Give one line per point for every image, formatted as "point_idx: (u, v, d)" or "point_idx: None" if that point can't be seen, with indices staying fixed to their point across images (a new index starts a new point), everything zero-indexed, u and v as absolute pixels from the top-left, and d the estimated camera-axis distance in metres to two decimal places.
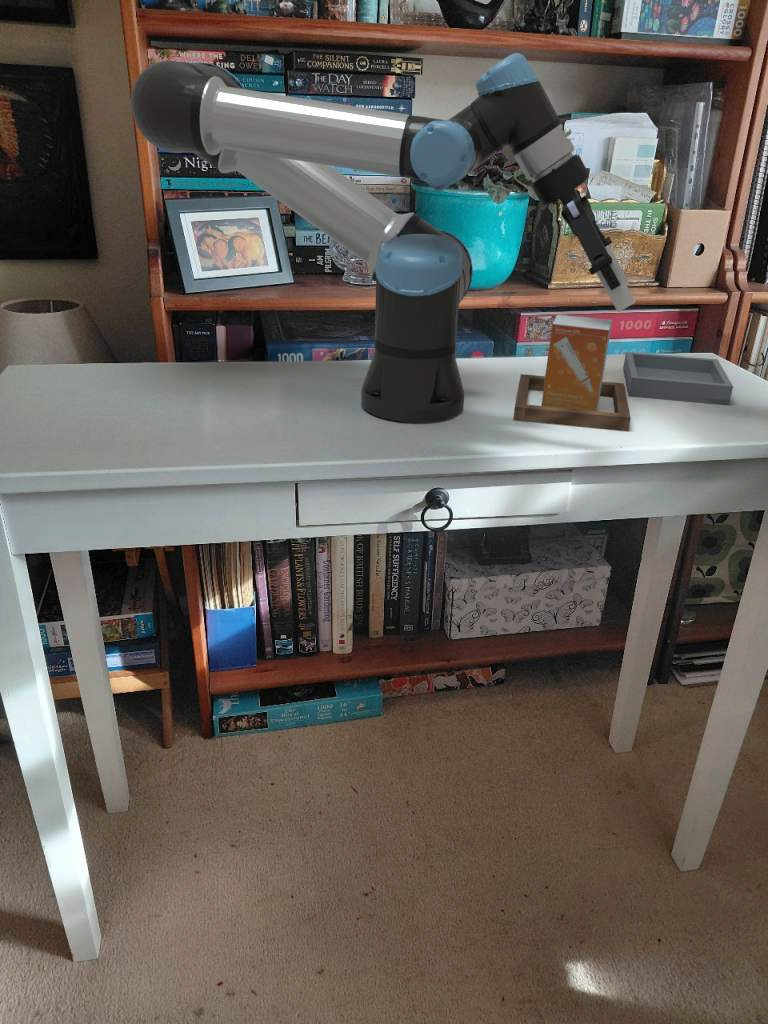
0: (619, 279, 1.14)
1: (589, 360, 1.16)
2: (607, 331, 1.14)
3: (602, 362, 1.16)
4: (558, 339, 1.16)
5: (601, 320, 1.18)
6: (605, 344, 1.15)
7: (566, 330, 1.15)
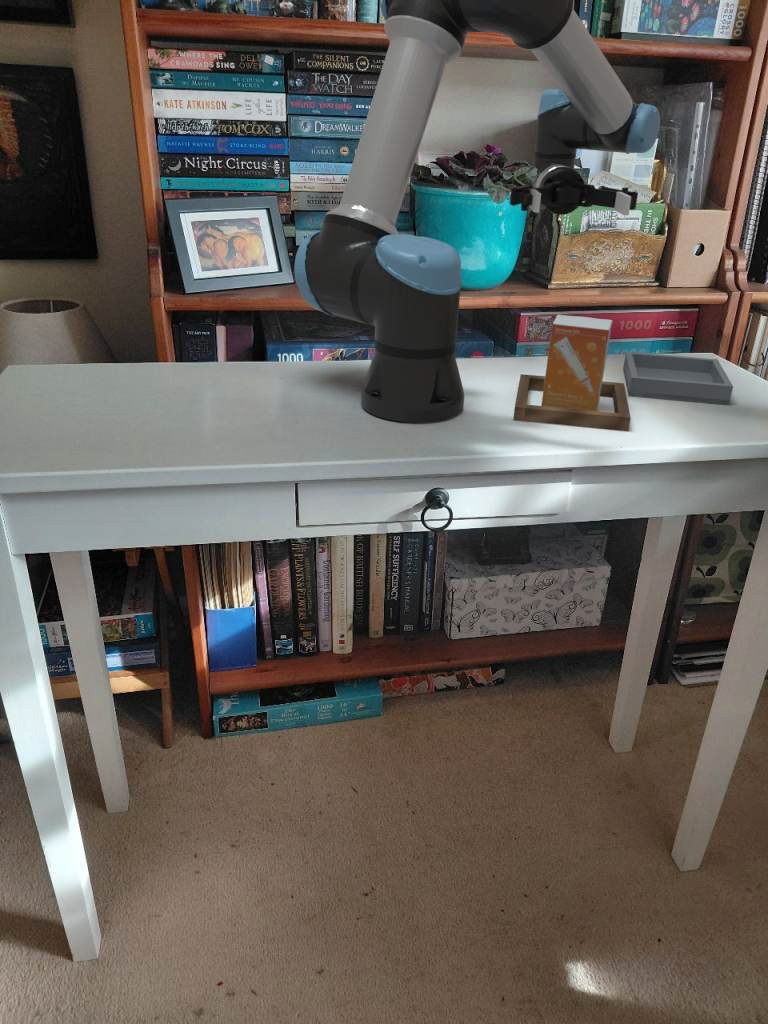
0: None
1: (589, 360, 1.16)
2: (607, 331, 1.14)
3: (602, 362, 1.16)
4: (558, 338, 1.16)
5: (601, 320, 1.18)
6: (605, 344, 1.15)
7: (566, 330, 1.15)
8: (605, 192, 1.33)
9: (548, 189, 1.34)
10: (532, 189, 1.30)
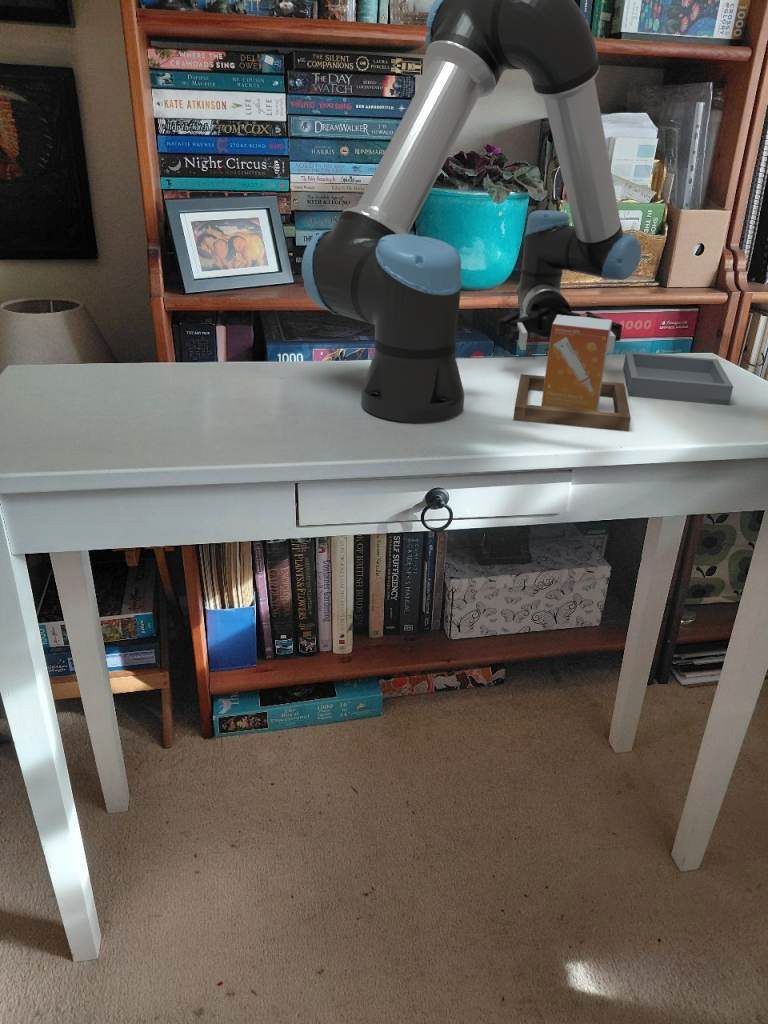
0: None
1: (589, 360, 1.16)
2: (607, 331, 1.14)
3: (602, 362, 1.16)
4: (558, 339, 1.16)
5: (601, 320, 1.18)
6: (605, 344, 1.15)
7: (566, 330, 1.15)
8: None
9: (535, 318, 1.37)
10: (519, 323, 1.32)
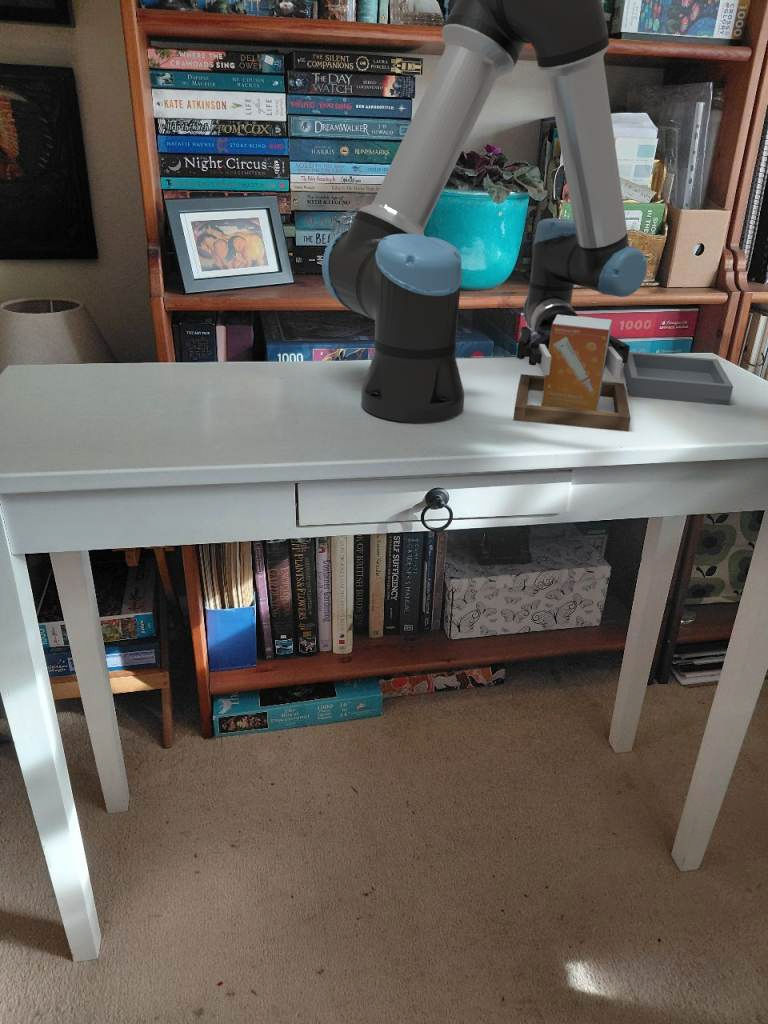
0: None
1: (589, 359, 1.16)
2: (607, 331, 1.14)
3: (602, 362, 1.16)
4: (558, 338, 1.16)
5: (601, 320, 1.18)
6: (605, 344, 1.15)
7: (566, 329, 1.15)
8: None
9: None
10: (541, 345, 1.21)
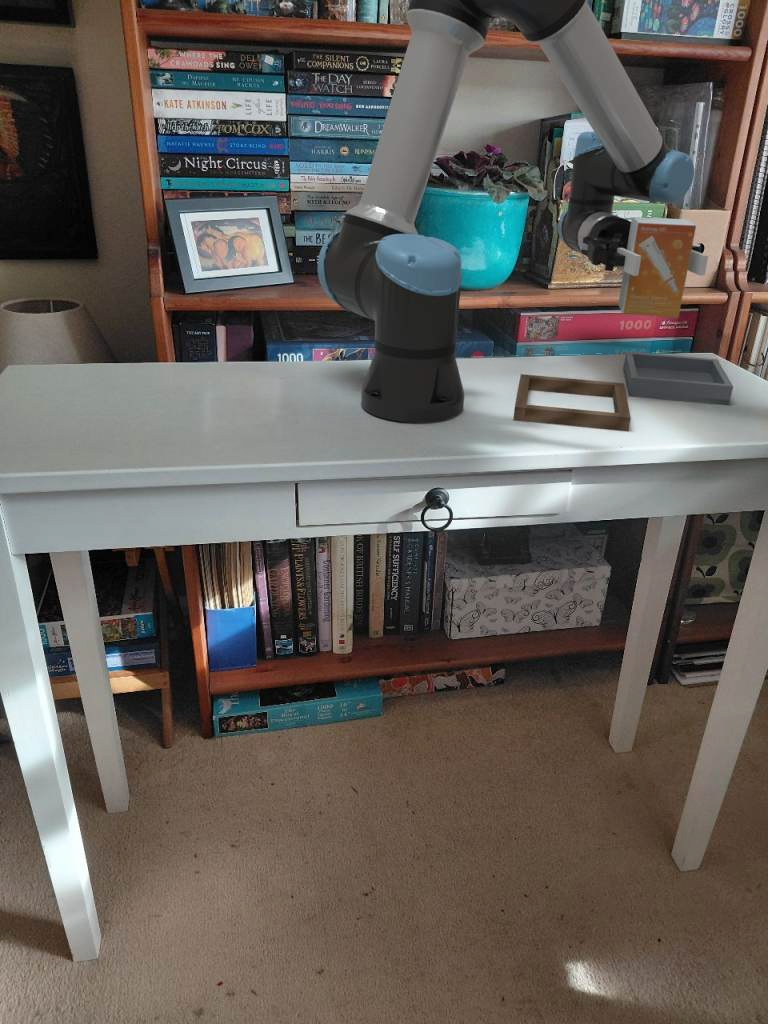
0: None
1: (675, 258, 1.16)
2: (694, 227, 1.14)
3: (688, 259, 1.16)
4: (644, 238, 1.15)
5: (679, 219, 1.18)
6: (691, 240, 1.15)
7: (652, 228, 1.14)
8: None
9: (619, 244, 1.25)
10: (620, 248, 1.19)
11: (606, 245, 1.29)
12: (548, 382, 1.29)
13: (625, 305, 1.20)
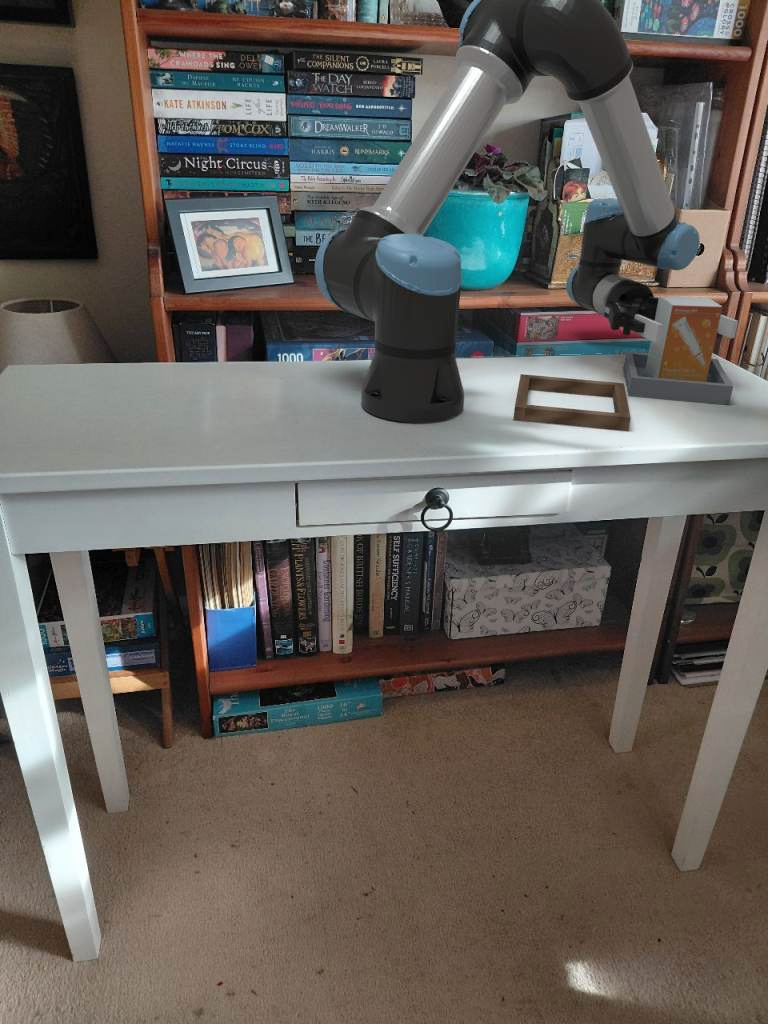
0: None
1: (704, 335, 1.27)
2: (721, 308, 1.25)
3: (715, 336, 1.27)
4: (677, 318, 1.26)
5: (702, 298, 1.30)
6: (718, 320, 1.26)
7: (685, 310, 1.25)
8: None
9: (638, 309, 1.35)
10: (638, 315, 1.30)
11: (627, 309, 1.38)
12: (548, 382, 1.29)
13: (658, 377, 1.30)
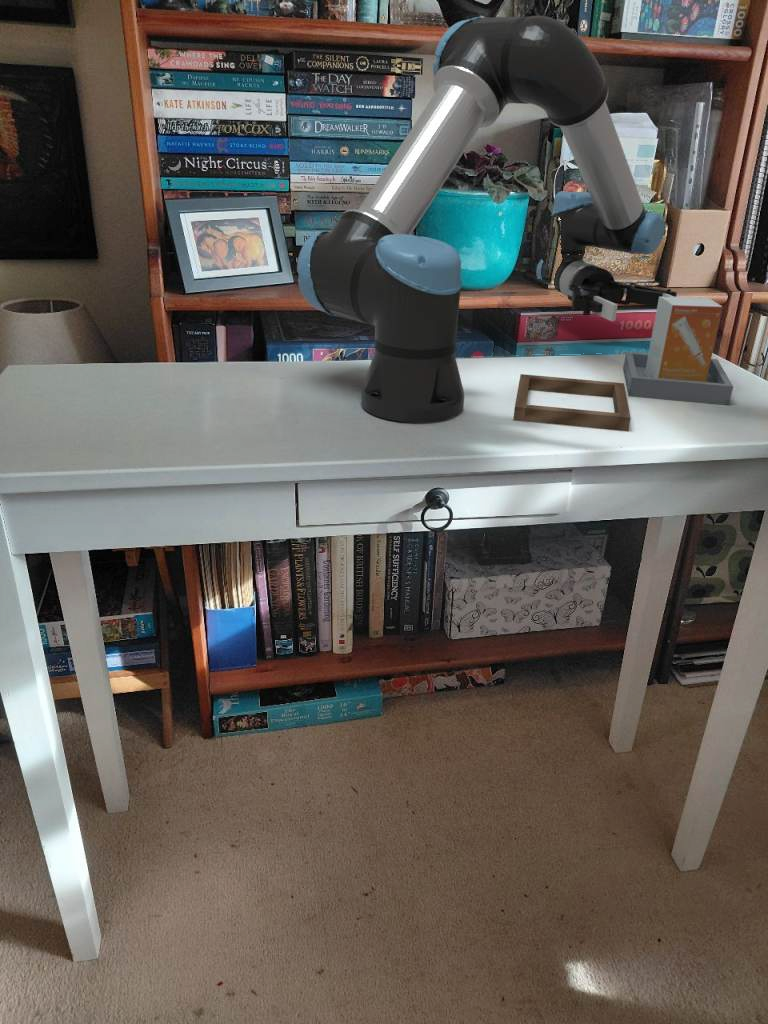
0: None
1: (704, 335, 1.27)
2: (721, 308, 1.25)
3: (715, 336, 1.27)
4: (677, 318, 1.26)
5: (702, 298, 1.30)
6: (718, 320, 1.26)
7: (685, 310, 1.25)
8: (648, 293, 1.47)
9: (598, 292, 1.46)
10: (596, 296, 1.41)
11: (589, 292, 1.49)
12: (548, 382, 1.29)
13: (658, 377, 1.30)
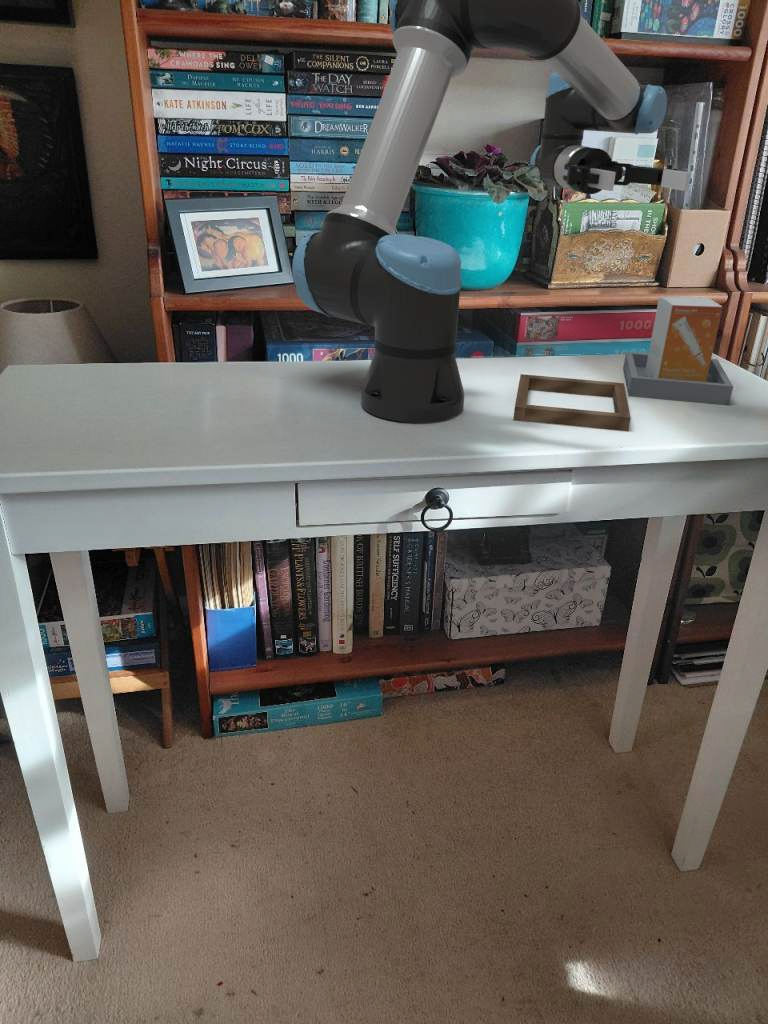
0: None
1: (704, 335, 1.27)
2: (721, 308, 1.25)
3: (715, 336, 1.27)
4: (677, 318, 1.26)
5: (702, 298, 1.30)
6: (718, 320, 1.26)
7: (685, 310, 1.25)
8: (648, 170, 1.38)
9: (595, 168, 1.37)
10: (593, 168, 1.32)
11: None
12: (548, 382, 1.29)
13: (658, 377, 1.30)
